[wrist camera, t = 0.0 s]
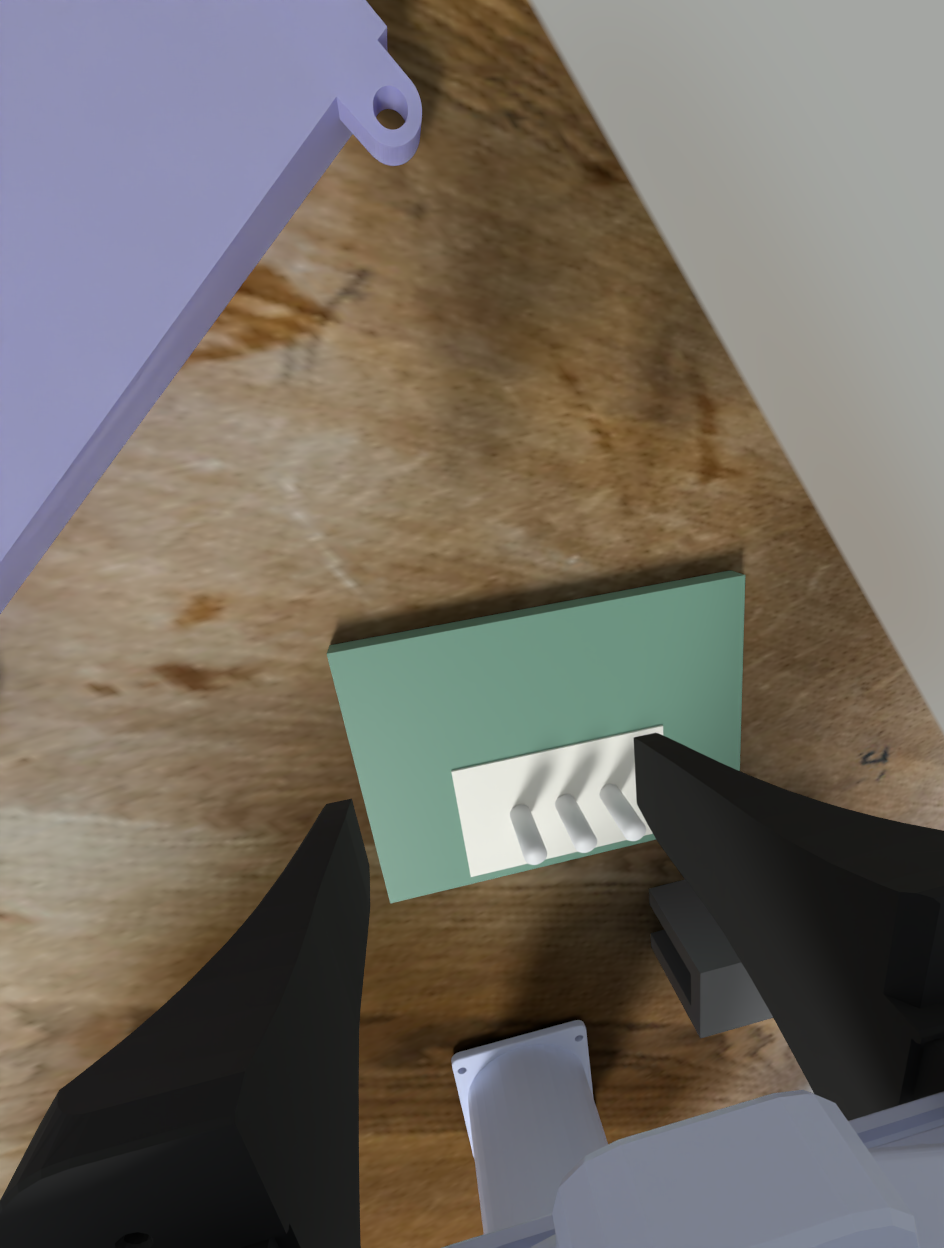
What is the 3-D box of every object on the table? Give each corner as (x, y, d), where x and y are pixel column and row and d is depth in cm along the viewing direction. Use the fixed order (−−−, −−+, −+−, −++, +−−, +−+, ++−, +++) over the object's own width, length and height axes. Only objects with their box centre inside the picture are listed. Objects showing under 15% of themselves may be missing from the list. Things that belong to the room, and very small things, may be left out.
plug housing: (762, 917, 30) (830, 1001, 26) (650, 946, 30) (700, 1038, 25) (765, 858, 29) (838, 936, 24) (648, 888, 28) (700, 973, 23)
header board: (726, 807, 27) (777, 859, 24) (390, 887, 25) (390, 956, 22) (730, 570, 23) (793, 590, 19) (329, 645, 21) (317, 682, 18)
